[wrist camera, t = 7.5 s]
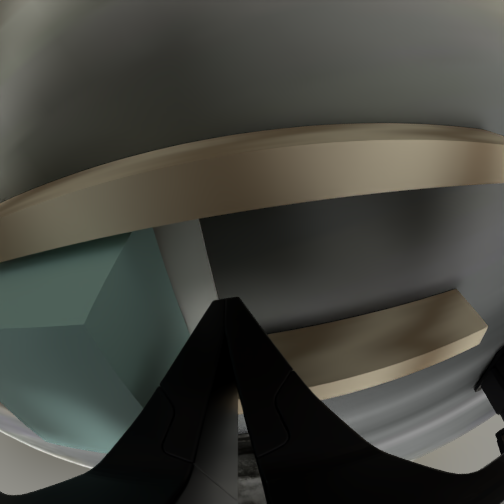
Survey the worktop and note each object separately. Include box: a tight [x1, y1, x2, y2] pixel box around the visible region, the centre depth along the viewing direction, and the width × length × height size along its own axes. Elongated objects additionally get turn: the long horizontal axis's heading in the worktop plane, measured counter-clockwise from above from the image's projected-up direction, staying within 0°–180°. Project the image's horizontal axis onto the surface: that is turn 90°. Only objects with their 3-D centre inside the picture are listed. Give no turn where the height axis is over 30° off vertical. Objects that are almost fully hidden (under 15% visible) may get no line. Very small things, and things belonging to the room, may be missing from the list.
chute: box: [0, 123, 504, 414], centre depth 9 cm, size 20×9×3 cm, turn 98°
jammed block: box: [0, 227, 190, 453], centre depth 8 cm, size 6×6×5 cm
